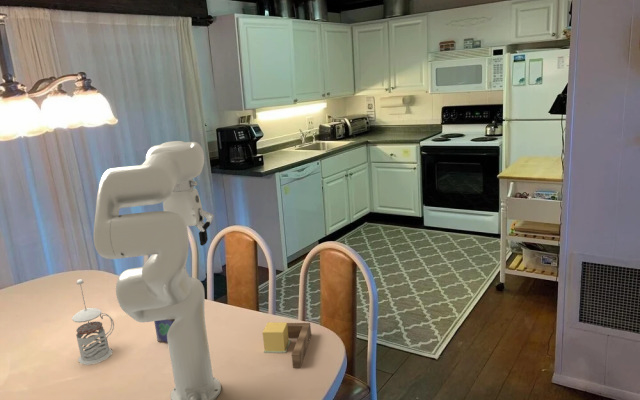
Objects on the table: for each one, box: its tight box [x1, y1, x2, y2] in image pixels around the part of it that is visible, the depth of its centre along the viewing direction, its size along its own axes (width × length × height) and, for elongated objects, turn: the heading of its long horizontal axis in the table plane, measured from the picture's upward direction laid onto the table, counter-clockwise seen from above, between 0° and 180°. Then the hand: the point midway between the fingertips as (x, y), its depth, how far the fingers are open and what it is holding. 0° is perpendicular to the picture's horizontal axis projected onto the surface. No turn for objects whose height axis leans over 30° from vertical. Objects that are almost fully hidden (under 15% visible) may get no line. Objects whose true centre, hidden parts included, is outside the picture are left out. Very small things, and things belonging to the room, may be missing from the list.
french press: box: [71, 278, 115, 366], centre depth 146 cm, size 10×12×25 cm
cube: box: [262, 321, 290, 351], centre depth 144 cm, size 6×6×6 cm
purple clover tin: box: [153, 319, 175, 345], centre depth 152 cm, size 9×3×11 cm, turn 65°
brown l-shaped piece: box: [263, 322, 312, 369], centre depth 142 cm, size 18×12×4 cm
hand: (187, 244), depth 140 cm, fingers open, 9 cm apart
